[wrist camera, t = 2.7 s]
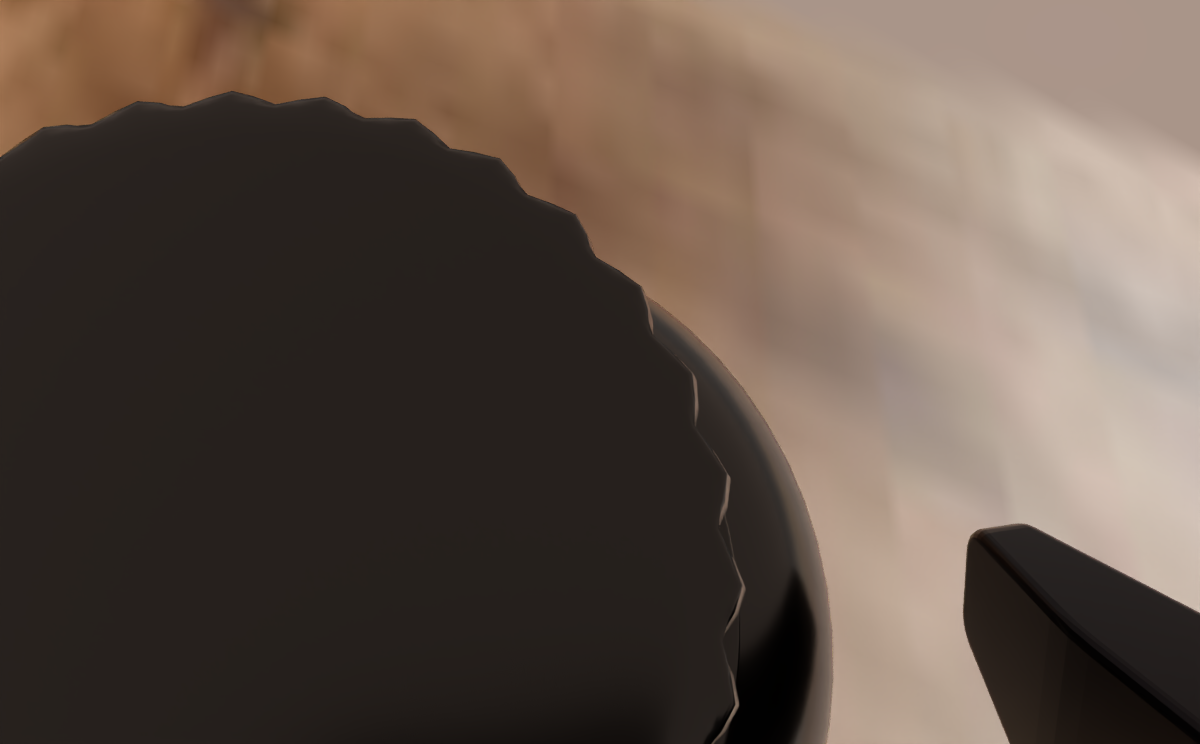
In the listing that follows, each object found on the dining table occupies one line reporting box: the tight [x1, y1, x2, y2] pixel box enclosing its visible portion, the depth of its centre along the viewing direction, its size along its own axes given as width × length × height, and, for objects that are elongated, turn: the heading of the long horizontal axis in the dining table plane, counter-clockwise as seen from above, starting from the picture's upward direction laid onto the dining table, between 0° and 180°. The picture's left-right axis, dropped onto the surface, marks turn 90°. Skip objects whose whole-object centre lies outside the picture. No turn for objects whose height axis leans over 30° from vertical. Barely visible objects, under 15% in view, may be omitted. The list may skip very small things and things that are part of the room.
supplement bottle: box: [0, 91, 833, 744], centre depth 10 cm, size 7×7×12 cm
